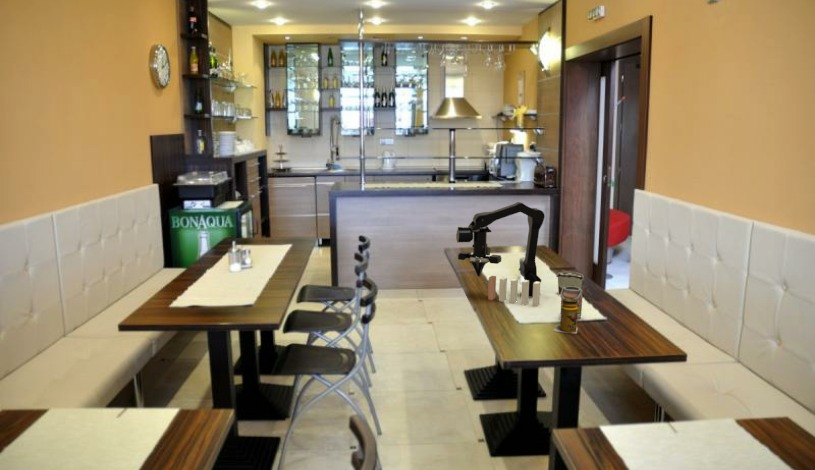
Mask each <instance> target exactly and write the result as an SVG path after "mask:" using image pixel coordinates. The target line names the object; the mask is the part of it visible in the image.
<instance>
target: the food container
mask: <svg viewBox="0 0 815 470" xmlns="http://www.w3.org/2000/svg"><path fill="white" fill-rule="evenodd" d="M556 278H557V287H558V288H557V289H558V290H557V291H558V295H559V296H560V293H561V291H562V288H563V287H567V286H573V287H578V288H580V289H581V290H582V286H583V281H585V278H584V275H583V273H580V272H577V271H560V272H557V274H556Z"/></svg>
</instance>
